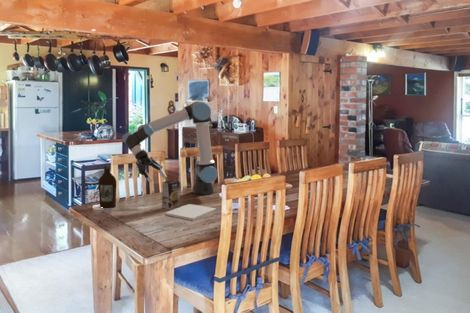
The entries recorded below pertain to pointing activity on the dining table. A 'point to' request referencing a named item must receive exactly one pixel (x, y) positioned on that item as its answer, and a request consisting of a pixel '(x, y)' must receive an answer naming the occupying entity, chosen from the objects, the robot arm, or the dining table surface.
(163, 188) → the coffee box
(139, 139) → the robot arm
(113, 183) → the olive oil
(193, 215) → the board
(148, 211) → the dining table surface
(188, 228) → the dining table surface
